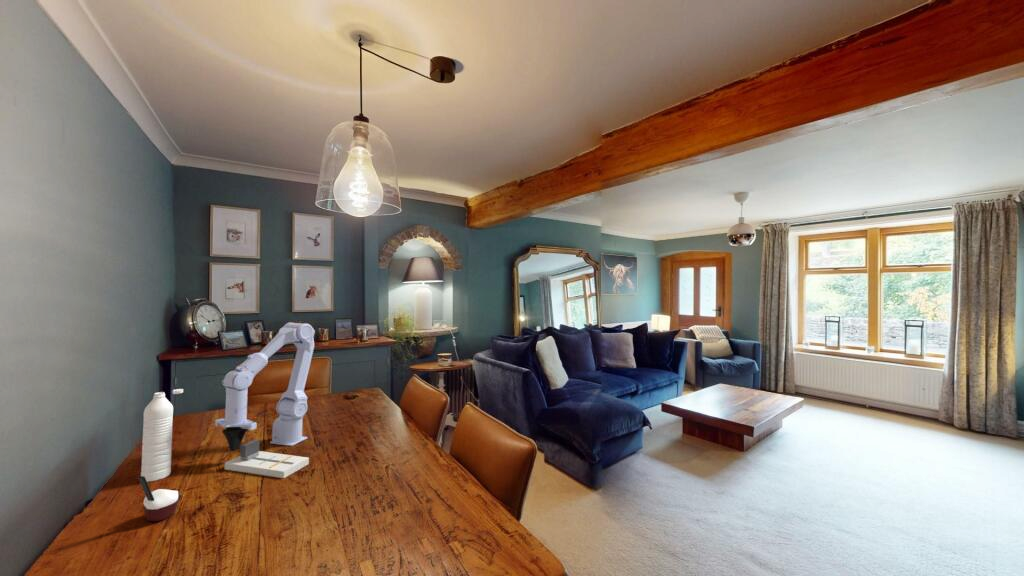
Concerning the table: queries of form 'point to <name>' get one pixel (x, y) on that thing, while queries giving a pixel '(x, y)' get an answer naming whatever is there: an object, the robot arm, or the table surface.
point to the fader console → (268, 464)
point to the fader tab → (249, 450)
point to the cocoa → (159, 502)
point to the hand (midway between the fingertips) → (234, 449)
